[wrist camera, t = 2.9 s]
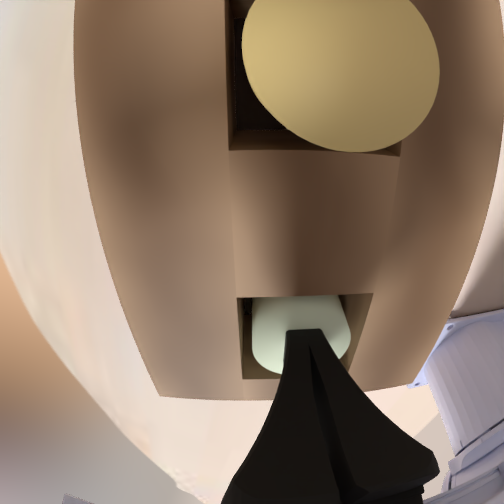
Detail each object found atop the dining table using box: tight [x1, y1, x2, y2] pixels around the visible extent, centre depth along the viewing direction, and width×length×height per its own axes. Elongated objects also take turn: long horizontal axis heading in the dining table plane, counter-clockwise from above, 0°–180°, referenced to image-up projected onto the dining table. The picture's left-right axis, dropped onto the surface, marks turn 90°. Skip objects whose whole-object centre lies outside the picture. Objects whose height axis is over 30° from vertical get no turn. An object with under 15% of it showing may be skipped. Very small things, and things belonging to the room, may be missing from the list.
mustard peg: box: [242, 0, 440, 152], centre depth 6 cm, size 4×4×4 cm
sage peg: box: [252, 295, 351, 374], centre depth 13 cm, size 4×4×4 cm
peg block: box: [74, 0, 504, 400], centre depth 11 cm, size 14×19×4 cm
